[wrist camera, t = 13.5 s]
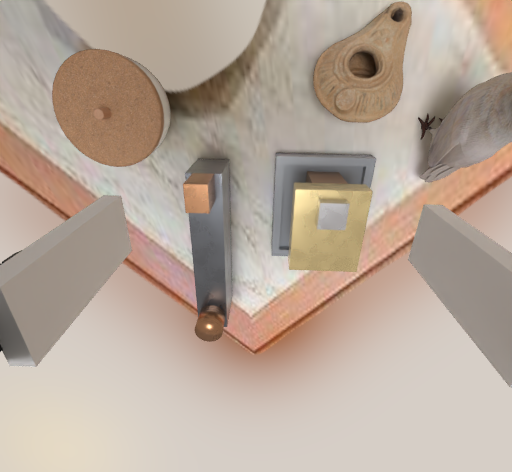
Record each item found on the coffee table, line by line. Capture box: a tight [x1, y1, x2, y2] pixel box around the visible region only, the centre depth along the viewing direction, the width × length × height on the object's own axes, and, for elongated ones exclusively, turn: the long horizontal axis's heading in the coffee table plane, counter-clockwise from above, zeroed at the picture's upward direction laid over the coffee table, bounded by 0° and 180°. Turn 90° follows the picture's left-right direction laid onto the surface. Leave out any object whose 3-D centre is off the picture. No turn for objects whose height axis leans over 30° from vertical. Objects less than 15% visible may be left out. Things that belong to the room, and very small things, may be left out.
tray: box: [272, 153, 376, 256], centre depth 38 cm, size 14×12×6 cm
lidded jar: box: [52, 49, 171, 167], centre depth 32 cm, size 11×11×9 cm
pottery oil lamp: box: [313, 2, 412, 123], centre depth 30 cm, size 9×12×7 cm
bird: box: [418, 72, 512, 182], centre depth 29 cm, size 5×14×15 cm, turn 178°
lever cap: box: [288, 182, 373, 272], centre depth 34 cm, size 10×8×4 cm
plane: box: [183, 159, 232, 341], centre depth 39 cm, size 22×4×11 cm, turn 179°
